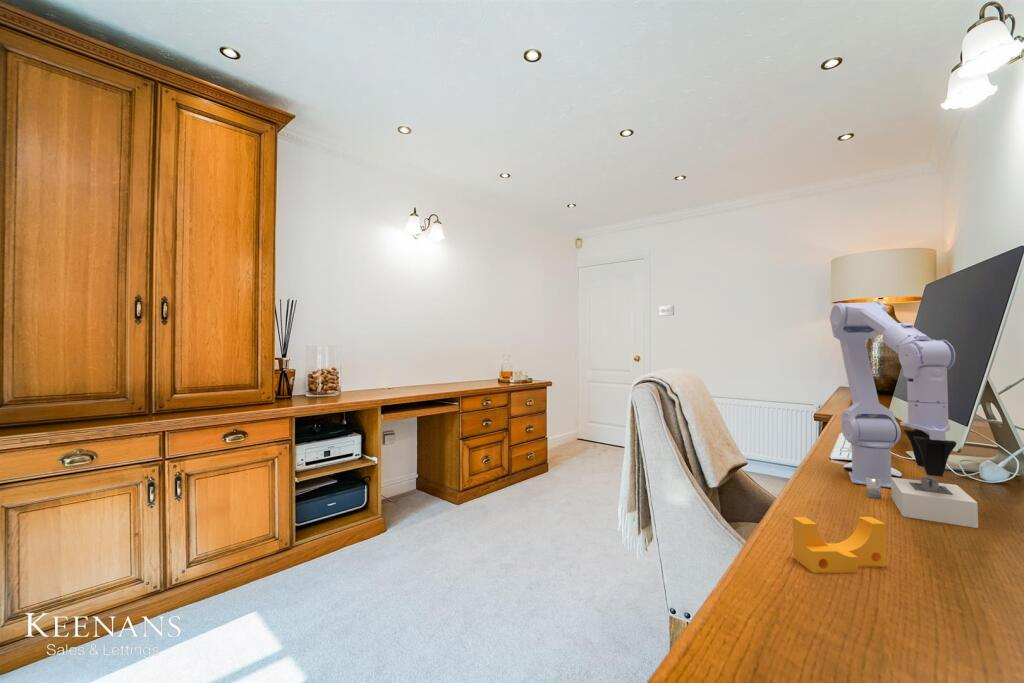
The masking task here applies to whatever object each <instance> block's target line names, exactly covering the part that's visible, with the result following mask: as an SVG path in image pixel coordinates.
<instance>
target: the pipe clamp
mask: <svg viewBox="0 0 1024 683" xmlns="http://www.w3.org/2000/svg"><path fill="white" fill-rule="evenodd" d="M857 518H858V519H857V523H856V527H855V530H854V531H853V533H852V534H851V535H850V536H849V537H848V538H847V539H844V540H843V541H840V542H834V543H830V542H829V543H828V542H825V541H824V539H822V537H821V535H820V532H819V530H818V529H819V528H818V523H816V522H814V521H812V520H811V519H809V518H808V517H806V516H793V517H792V544H793V548H792V549H793V550H792V551H793V559H794V558H795V559H796V560H795V559H794V560H795V561H797V562H798V563H799V562H800V564H801V565H802V566H804V568H805V569H807V570H808V571H811V573H813V574H817V573H819V574H821V573H822V574H827V573H828V574H830V573H831V574H837V573H840V574H842V573H843V574H846V573H847V574H848V573H852V574H857V573H859V567H887V566H888V564H887V562H888V561H887V533H886V530H887V528H886V523H885V522H883V521H880V520H879V519H877V518H874V517H872V516H858V517H857Z"/></svg>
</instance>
